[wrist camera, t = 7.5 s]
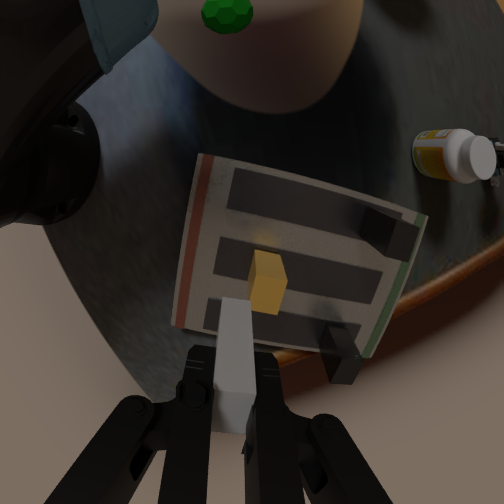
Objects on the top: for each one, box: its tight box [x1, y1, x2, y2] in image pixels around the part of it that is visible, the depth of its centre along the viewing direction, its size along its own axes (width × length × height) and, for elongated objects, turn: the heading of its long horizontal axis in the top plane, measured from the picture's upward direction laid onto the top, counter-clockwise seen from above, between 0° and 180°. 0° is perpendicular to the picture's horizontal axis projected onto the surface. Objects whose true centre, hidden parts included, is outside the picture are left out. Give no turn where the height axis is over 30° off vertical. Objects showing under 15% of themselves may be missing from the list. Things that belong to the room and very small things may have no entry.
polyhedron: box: [201, 0, 253, 34], centre depth 21 cm, size 5×5×5 cm
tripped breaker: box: [247, 249, 288, 315], centre depth 25 cm, size 2×3×6 cm
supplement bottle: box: [412, 129, 496, 183], centre depth 23 cm, size 5×5×10 cm
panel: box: [171, 153, 429, 385], centre depth 27 cm, size 24×18×10 cm
